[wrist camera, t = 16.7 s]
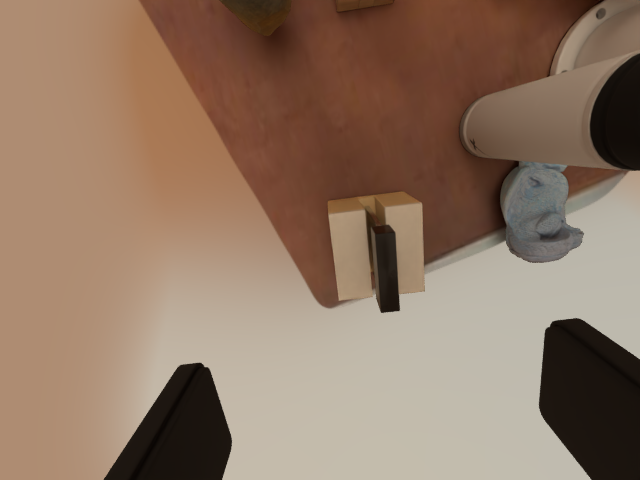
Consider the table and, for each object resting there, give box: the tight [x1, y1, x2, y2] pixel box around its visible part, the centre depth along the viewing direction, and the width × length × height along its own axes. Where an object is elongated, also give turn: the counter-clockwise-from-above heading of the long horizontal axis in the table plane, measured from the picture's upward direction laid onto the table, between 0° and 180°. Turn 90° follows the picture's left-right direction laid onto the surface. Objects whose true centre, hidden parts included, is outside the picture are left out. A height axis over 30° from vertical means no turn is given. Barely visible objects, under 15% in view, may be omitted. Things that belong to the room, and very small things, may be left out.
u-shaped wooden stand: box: [328, 191, 425, 301], centre depth 32 cm, size 9×9×7 cm
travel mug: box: [459, 50, 640, 171], centre depth 23 cm, size 6×7×20 cm
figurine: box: [500, 161, 584, 263], centre depth 32 cm, size 8×12×7 cm, turn 18°
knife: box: [365, 205, 400, 313], centre depth 30 cm, size 7×2×11 cm, turn 7°
